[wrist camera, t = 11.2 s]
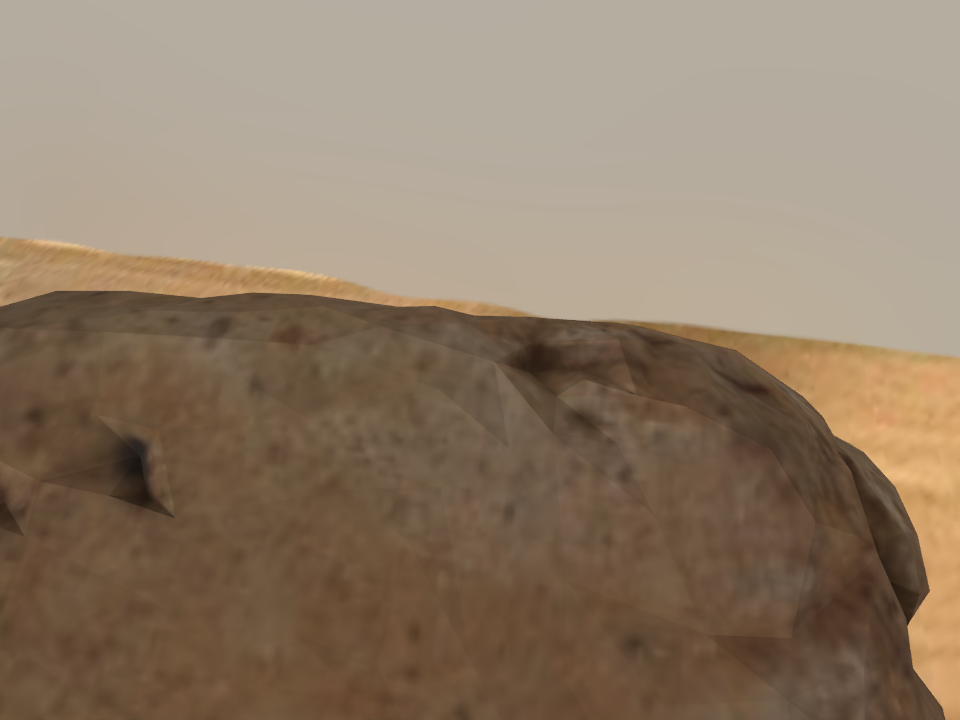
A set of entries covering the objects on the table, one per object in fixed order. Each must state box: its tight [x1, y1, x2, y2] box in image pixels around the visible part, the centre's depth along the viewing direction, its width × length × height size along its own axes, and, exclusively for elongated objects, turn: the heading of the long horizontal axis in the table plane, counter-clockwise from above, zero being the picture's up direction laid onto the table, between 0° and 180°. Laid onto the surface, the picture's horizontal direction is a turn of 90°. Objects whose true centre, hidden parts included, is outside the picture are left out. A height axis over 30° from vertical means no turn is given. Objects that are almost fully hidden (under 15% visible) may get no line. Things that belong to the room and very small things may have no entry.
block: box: [0, 291, 945, 720], centre depth 13 cm, size 11×8×20 cm
